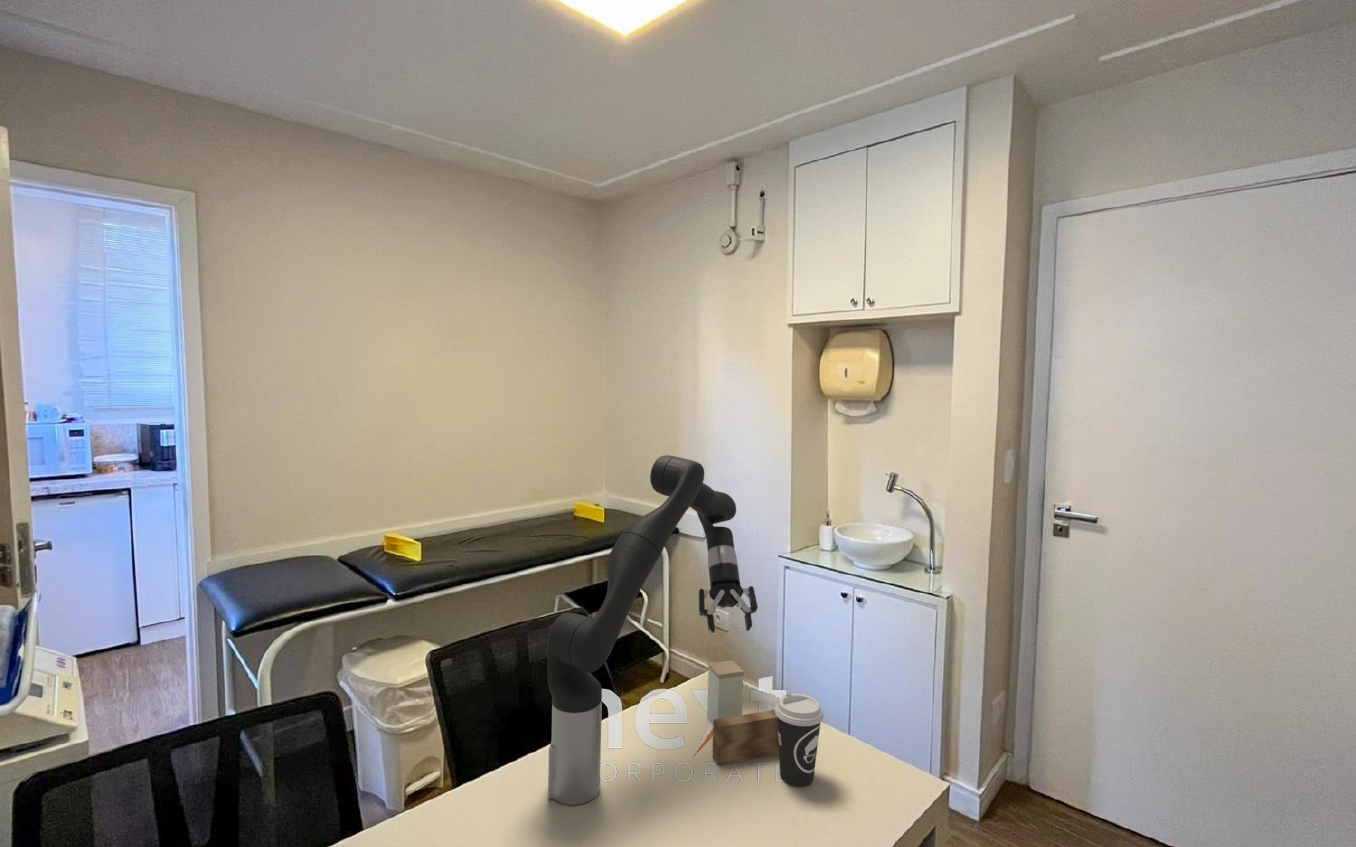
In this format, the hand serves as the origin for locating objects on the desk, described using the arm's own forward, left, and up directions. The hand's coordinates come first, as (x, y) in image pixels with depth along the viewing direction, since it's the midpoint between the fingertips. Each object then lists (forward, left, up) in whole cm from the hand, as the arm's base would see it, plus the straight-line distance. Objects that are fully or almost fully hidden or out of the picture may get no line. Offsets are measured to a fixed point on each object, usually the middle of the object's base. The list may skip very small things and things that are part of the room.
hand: (730, 630), depth 150 cm
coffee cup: (+11, -27, -19) cm, 35 cm away
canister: (-2, -7, -19) cm, 20 cm away
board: (+3, -20, -19) cm, 27 cm away
